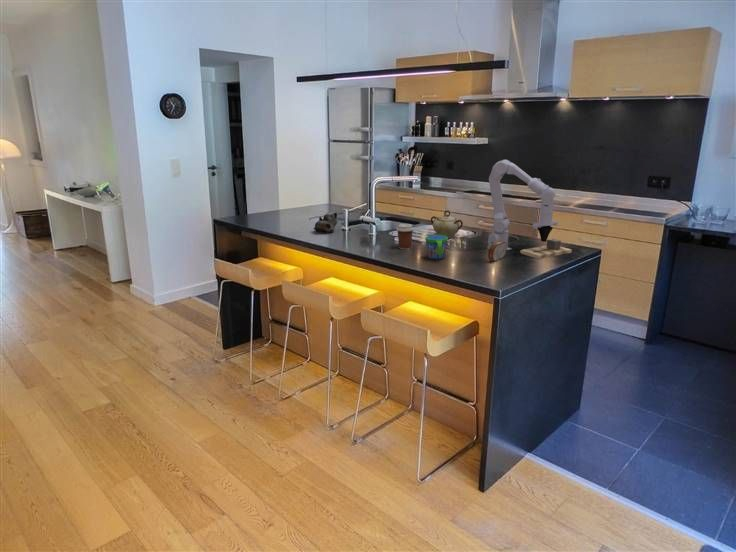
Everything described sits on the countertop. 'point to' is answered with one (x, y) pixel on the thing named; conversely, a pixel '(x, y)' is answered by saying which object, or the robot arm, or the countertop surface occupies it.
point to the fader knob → (553, 244)
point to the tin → (497, 251)
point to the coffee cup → (405, 235)
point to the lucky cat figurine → (327, 222)
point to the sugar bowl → (446, 225)
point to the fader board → (544, 252)
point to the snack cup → (436, 246)
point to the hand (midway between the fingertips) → (543, 241)
